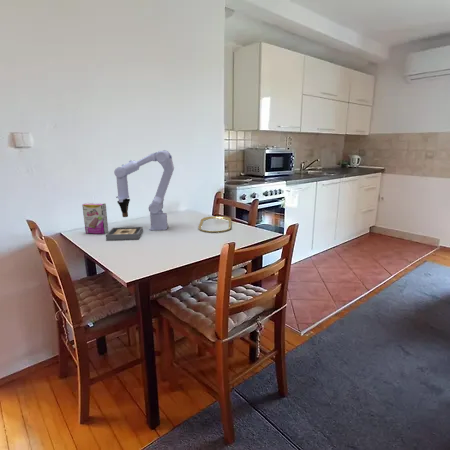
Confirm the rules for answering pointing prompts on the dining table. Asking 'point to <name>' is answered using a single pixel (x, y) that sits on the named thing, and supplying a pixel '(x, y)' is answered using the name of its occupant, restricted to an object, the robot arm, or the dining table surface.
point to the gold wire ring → (214, 218)
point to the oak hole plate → (126, 231)
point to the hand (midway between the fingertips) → (124, 212)
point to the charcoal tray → (112, 236)
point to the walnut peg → (125, 214)
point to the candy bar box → (95, 218)
